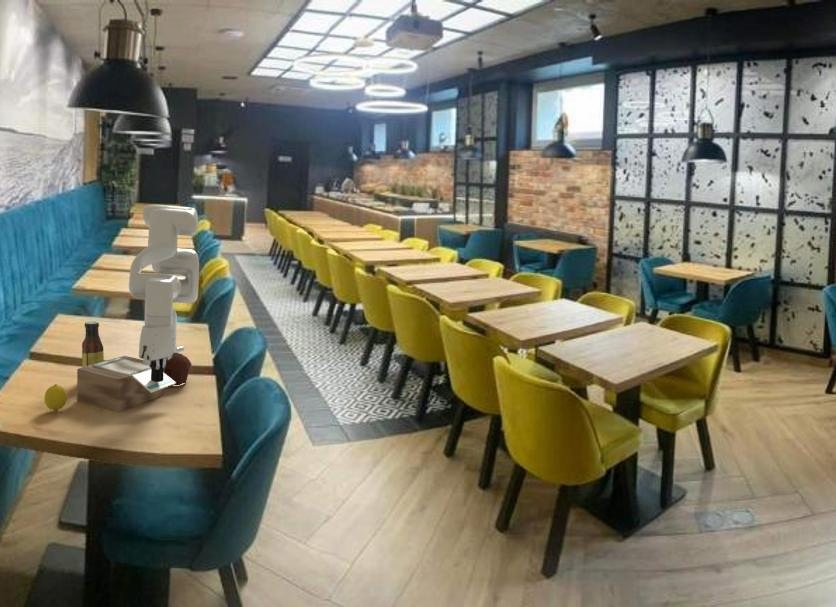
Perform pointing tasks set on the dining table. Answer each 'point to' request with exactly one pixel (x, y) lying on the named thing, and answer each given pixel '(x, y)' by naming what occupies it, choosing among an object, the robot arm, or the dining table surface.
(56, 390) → the lemon
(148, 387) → the stub
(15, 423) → the dining table surface
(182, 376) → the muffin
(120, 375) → the brown box with strip
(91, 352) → the sauce bottle
